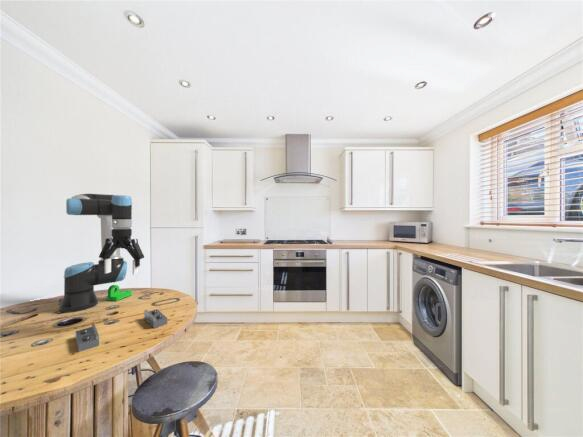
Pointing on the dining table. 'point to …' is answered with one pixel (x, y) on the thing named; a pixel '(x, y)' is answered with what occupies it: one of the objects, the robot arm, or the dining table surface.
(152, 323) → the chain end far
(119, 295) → the mechanical part
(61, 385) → the dining table surface
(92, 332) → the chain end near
